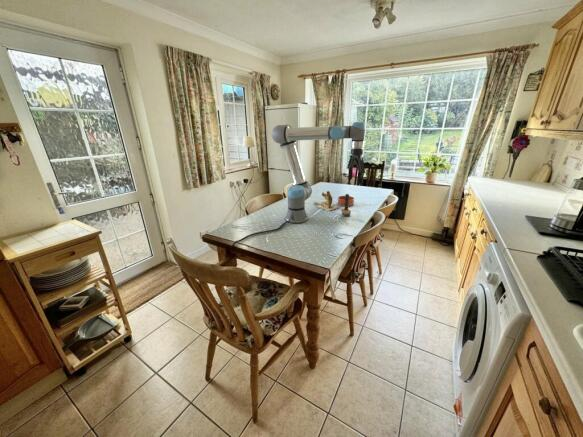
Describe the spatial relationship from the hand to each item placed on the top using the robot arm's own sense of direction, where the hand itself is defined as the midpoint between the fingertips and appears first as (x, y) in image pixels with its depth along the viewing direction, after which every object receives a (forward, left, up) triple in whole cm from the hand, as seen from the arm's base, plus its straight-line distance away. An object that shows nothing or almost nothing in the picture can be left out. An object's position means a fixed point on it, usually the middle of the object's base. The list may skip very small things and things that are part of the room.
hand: (354, 181), depth 156 cm
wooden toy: (-2, +33, -27) cm, 42 cm away
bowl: (+17, +30, -27) cm, 43 cm away
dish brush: (+1, +8, -27) cm, 28 cm away
